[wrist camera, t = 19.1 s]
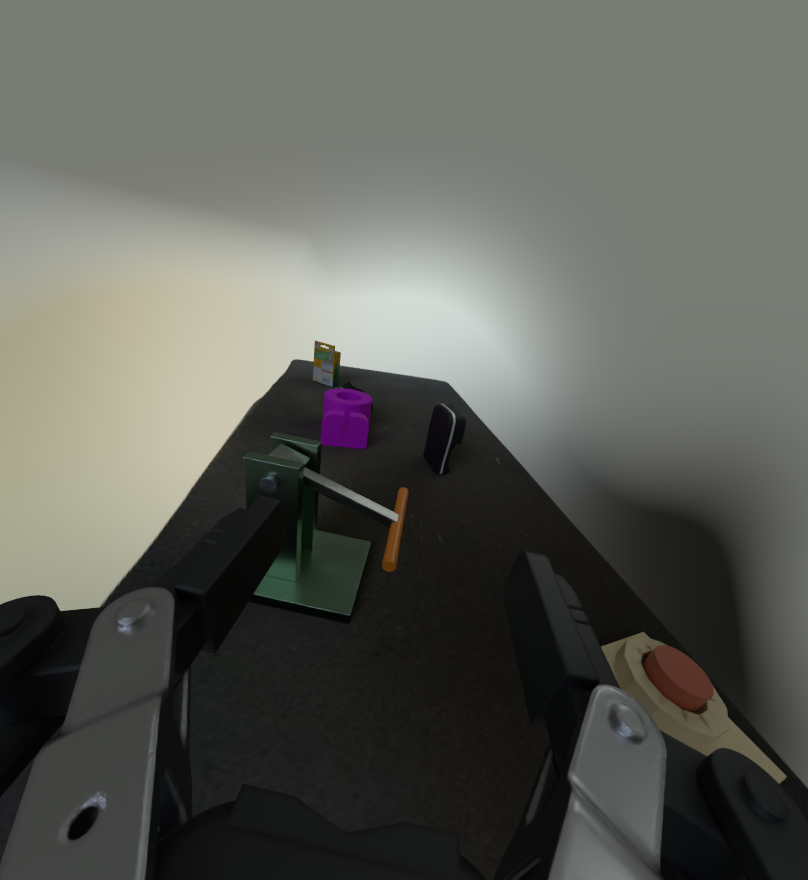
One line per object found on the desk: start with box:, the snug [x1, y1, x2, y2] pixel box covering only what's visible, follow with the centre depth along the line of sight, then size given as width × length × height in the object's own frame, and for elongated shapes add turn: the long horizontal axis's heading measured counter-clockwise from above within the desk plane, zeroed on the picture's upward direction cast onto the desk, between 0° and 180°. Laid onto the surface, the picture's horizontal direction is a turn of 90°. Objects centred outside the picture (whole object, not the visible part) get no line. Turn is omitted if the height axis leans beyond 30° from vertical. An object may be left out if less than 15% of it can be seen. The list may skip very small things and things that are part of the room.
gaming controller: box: [342, 381, 373, 412], centre depth 76 cm, size 11×4×7 cm
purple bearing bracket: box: [321, 389, 372, 449], centre depth 61 cm, size 16×10×6 cm, turn 8°
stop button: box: [644, 645, 714, 711], centre depth 23 cm, size 4×4×2 cm
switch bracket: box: [243, 432, 371, 624], centre depth 28 cm, size 16×9×14 cm, turn 84°
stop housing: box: [601, 632, 786, 784], centre depth 23 cm, size 10×8×4 cm
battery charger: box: [423, 404, 466, 474], centre depth 53 cm, size 7×4×11 cm, turn 18°
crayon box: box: [313, 341, 341, 387], centre depth 87 cm, size 7×3×12 cm, turn 63°
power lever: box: [269, 444, 409, 572], centre depth 26 cm, size 13×10×2 cm
